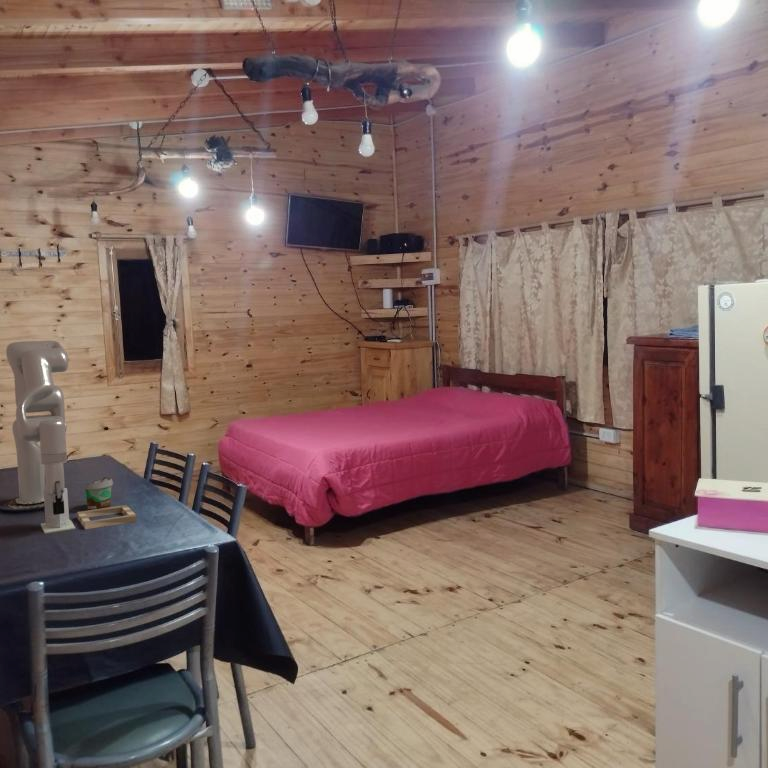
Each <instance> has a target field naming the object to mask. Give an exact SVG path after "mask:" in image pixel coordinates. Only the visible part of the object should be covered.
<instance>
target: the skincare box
mask: <svg viewBox="0 0 768 768" xmlns="http://www.w3.org/2000/svg"><path fill="white" fill-rule="evenodd" d="M62 491H63V490H62ZM68 494H69V493H68V488H67V487H64V493H63V501H64V514H57V515H54V514H53V502H54V500H53V494H50V496H49V495H47V493H46V489H45V490H44V503H43V504H44V514H45V515H44V519H45V523H46V526H49V527H63V526H66V525H68V524H69V520H70V514H69V513H70V510H69V497H68Z"/></svg>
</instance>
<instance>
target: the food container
mask: <svg viewBox="0 0 768 768" xmlns="http://www.w3.org/2000/svg"><path fill="white" fill-rule="evenodd" d="M113 485H114V481H113V479H112V477H111V476H105V475H104V476H103V477H102V479H100V480H94V481H92V482H89V483H88V482H86V483H84V487H83V490H85V498H86V506H87V511H88V510H95V509H102V508H109V507H112V506H111V502H112V486H113Z"/></svg>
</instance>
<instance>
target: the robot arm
mask: <svg viewBox="0 0 768 768" xmlns="http://www.w3.org/2000/svg"><path fill="white" fill-rule="evenodd" d="M5 350H6V351H5V353H6V358H7V362H8V364H9V366H10V369H11V370H12V371H11V372H13V373H12V374H13V377H14V379H13V380H14V397H15V399H14V400H15V405H16V410H15V420H14V421H13V423H12V429H11V431H12V434H13V438H14V444H15V450H16V460H17V461H16V462H17V464H16V465H17V479H18V493H19V495H18V496H19V497H17V498H16V499H15V500H18V499H19V500H21V501H24V502H26V503H30V502H35V501H36V502H40V501H44V490H45V489H46V493H47V495H49V496H50V494H53V500H54V502H53V514H54V515H57V514H64V501H63V493H64V488H65V471H64V469H65V467H64V464H65V463H67V462H68V456H67V455H68V454H67V441H66V440H67V438H66V437H67V435H66V434H67V433H66V432H67V422H66V414H65V413H66V412H65V398H64V397H65V396H64V392H63V390H62V388H61V387H60V386H58V385H55V384H54V380H53V379H54V378H53V373H64V372H66V371H68V368H69V356H68V354H67V352H66V350H65V349H64V347H63V346H62V344H61V343H60V342H59V341H58V340H57V341H56V340H28V341H27V340H26V341H25V340H24V341H15V342H12V343H11V342H10V343H9V344H7V346H6V349H5ZM43 412H48V413H49V412H50V414H41V415H40V414H38V415H26V413H27V414H32V413H43ZM38 443H39V444H38ZM62 490H63V491H62Z"/></svg>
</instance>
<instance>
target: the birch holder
mask: <svg viewBox="0 0 768 768" xmlns="http://www.w3.org/2000/svg"><path fill="white" fill-rule="evenodd" d="M116 514H122V516H115V517H109V518H108V517H107V518H100V519H93V520H90V518H97V517H102V516H103V517H104V516H109V515H110V516H111V515H116ZM76 518H77V520H78V522H79V523H80V524H81V526H82V527H83V528H84V530H90V529H97V528H104V526H105V527H110V526H116V525H118V526H119V525H123V524H129V523H137V522H138V516H137V514H136V513H135V512H134V511H133V510H132V509H131V508H130V507H129V506H128V505H126V504H124V505H118V506H117V505H116V506H110V507H109V508H102V509H95V510H88V509H87V510H84V511H83V510H82V511H77V512H76ZM136 521H137V522H136Z"/></svg>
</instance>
